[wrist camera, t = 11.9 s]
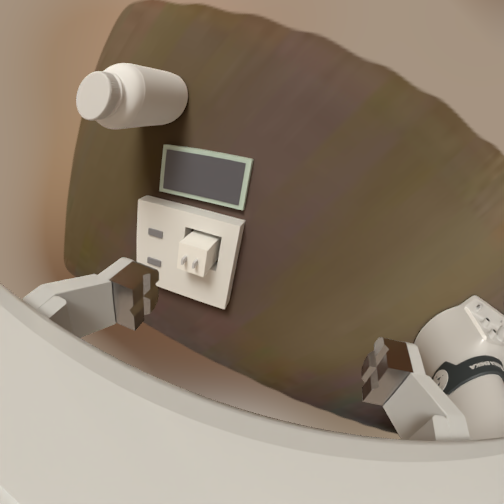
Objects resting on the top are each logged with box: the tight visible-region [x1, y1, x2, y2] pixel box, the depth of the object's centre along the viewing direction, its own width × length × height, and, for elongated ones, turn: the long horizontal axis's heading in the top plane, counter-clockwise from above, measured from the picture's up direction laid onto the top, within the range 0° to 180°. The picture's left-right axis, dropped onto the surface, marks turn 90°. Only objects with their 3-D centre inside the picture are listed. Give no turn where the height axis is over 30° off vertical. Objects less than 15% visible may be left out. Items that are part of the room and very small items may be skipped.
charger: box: [177, 230, 222, 277], centre depth 40 cm, size 4×4×7 cm
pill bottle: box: [76, 63, 188, 129], centre depth 28 cm, size 8×8×15 cm
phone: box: [159, 144, 254, 210], centre depth 38 cm, size 13×7×2 cm, turn 79°
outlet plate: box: [137, 195, 245, 310], centre depth 43 cm, size 16×14×3 cm
